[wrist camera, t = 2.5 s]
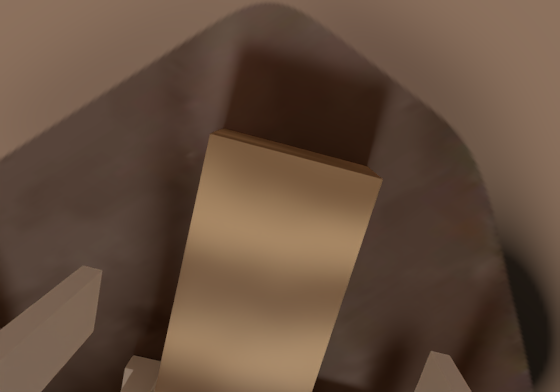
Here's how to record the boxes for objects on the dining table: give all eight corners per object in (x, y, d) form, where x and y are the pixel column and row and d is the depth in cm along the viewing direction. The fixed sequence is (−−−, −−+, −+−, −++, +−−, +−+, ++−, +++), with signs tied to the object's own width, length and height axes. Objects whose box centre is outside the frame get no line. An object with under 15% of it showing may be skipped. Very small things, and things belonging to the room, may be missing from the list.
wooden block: (298, 374, 25) (300, 426, 21) (176, 345, 24) (154, 391, 20) (365, 165, 21) (382, 179, 17) (224, 127, 21) (210, 133, 17)
